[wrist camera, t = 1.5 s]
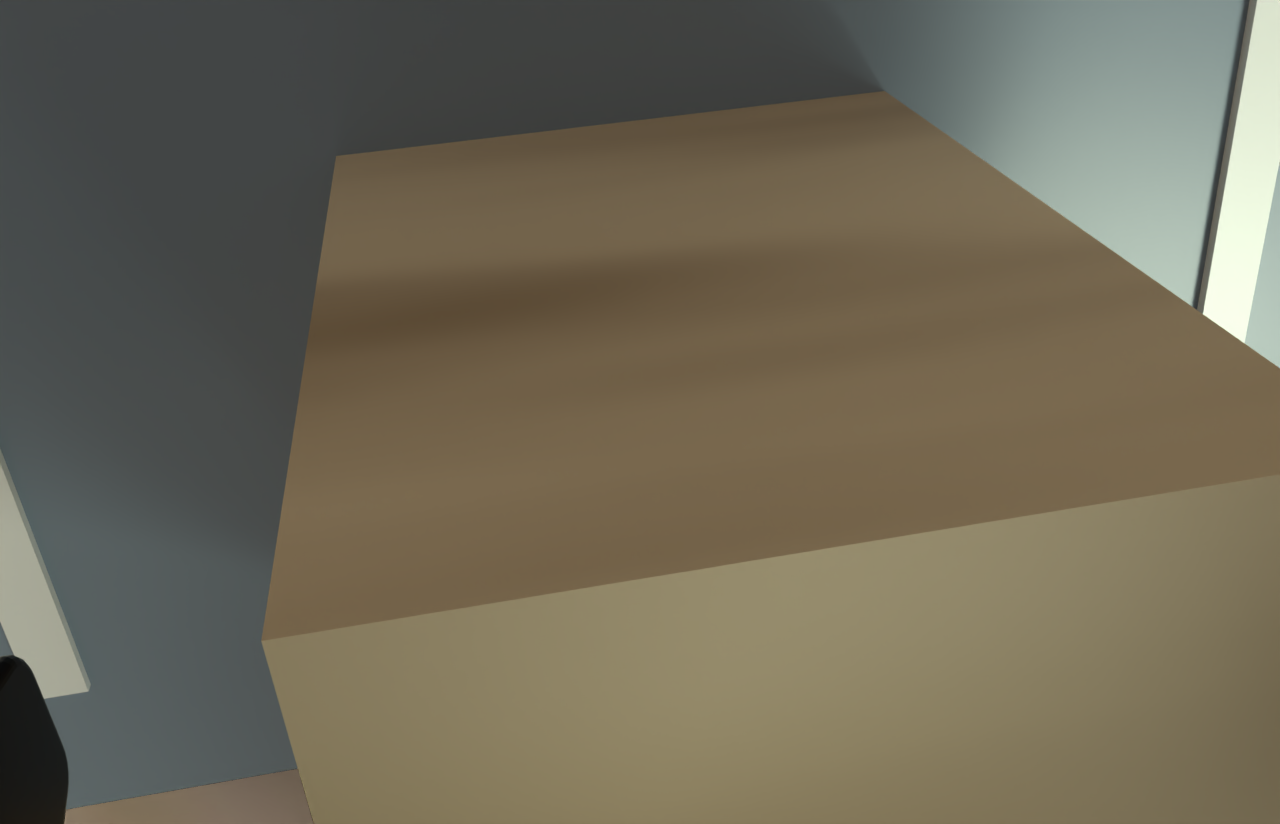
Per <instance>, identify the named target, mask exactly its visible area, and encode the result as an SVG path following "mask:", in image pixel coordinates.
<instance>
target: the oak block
mask: <svg viewBox="0 0 1280 824" xmlns="http://www.w3.org/2000/svg"><path fill="white" fill-rule="evenodd" d="M261 642H262V645H263V649H264V652H265V656H266V659H267V663H268V666H269V670H270V673H271V677H272V680H273V684H274V687H275V691H276V694H277V698H278V701H279V705H280V708H281V712H282V715H283V719H284V722H285V726H286V729H287V733H288V736H289V740H290V743H291V746H292V750H293V753H294V757H295V760H296V764H297V767H298V771H299V774H300V778H301V781H302V785H303V788H304V792H305V795H306V799H307V802H308V806H309V809H310V813H311V816H312V820H313V823H314V824H1280V368H1279V367H1277V366H1276V365H1275V364H1273V363H1272V362H1270V361H1269V360H1267V359H1266V358H1265V357H1263V356H1262V355H1260V354H1259V353H1258V352H1256V351H1255V350H1253V349H1252V348H1250V347H1249V346H1248V345H1246V344H1245V343H1243V342H1242V341H1240V340H1239V339H1238V338H1236V337H1235V336H1233V335H1232V334H1230V333H1229V332H1228V331H1226V330H1225V329H1223V328H1222V327H1220V326H1219V325H1218V324H1216V323H1215V322H1213V321H1212V320H1210V319H1209V318H1208V317H1206V316H1205V315H1203V314H1202V313H1200V312H1199V311H1198V310H1196V309H1195V308H1193V307H1192V306H1191V305H1189V304H1188V303H1186V302H1185V301H1183V300H1182V299H1181V298H1179V297H1178V296H1176V295H1175V294H1173V293H1172V292H1171V291H1169V290H1168V289H1166V288H1165V287H1163V286H1162V285H1161V284H1159V283H1158V282H1156V281H1155V280H1153V279H1152V278H1151V277H1149V276H1148V275H1146V274H1145V273H1143V272H1142V271H1141V270H1139V269H1138V268H1136V267H1135V266H1134V265H1132V264H1131V263H1129V262H1128V261H1126V260H1125V259H1124V258H1122V257H1121V256H1119V255H1118V254H1116V253H1115V252H1114V251H1112V250H1111V249H1109V248H1108V247H1106V246H1105V245H1104V244H1102V243H1101V242H1099V241H1098V240H1096V239H1095V238H1094V237H1092V236H1091V235H1089V234H1088V233H1086V232H1085V231H1084V230H1082V229H1081V228H1079V227H1078V226H1076V225H1075V224H1074V223H1072V222H1071V221H1069V220H1068V219H1067V218H1065V217H1064V216H1062V215H1061V214H1059V213H1058V212H1057V211H1055V210H1054V209H1052V208H1051V207H1049V206H1048V205H1047V204H1045V203H1044V202H1042V201H1041V200H1039V199H1038V198H1037V197H1035V196H1034V195H1032V194H1031V193H1029V192H1028V191H1027V190H1025V189H1024V188H1022V187H1021V186H1019V185H1018V184H1017V183H1015V182H1014V181H1012V180H1011V179H1010V178H1008V177H1007V176H1005V175H1004V174H1002V173H1001V172H1000V171H998V170H997V169H995V168H994V167H992V166H991V165H990V164H988V163H987V162H985V161H984V160H982V159H981V158H980V157H978V156H977V155H975V154H974V153H972V152H971V151H970V150H968V149H967V148H965V147H964V146H962V145H961V144H960V143H958V142H957V141H955V140H954V139H952V138H951V137H950V136H948V135H947V134H945V133H944V132H943V131H941V130H940V129H938V128H937V127H935V126H934V125H933V124H931V123H930V122H928V121H927V120H925V119H924V118H923V117H921V116H920V115H918V114H917V113H915V112H914V111H913V110H911V109H910V108H908V107H907V106H905V105H904V104H903V103H901V102H900V101H898V100H897V99H895V98H894V97H893V96H891V95H890V94H888V93H887V92H885V91H881V92H872V93H864V94H855V95H847V96H838V97H830V98H822V99H813V100H805V101H796V102H788V103H779V104H771V105H763V106H754V107H746V108H737V109H729V110H720V111H712V112H704V113H695V114H687V115H678V116H670V117H661V118H653V119H644V120H636V121H628V122H619V123H611V124H602V125H594V126H585V127H577V128H569V129H560V130H552V131H543V132H535V133H526V134H518V135H510V136H501V137H493V138H484V139H476V140H467V141H459V142H451V143H442V144H434V145H425V146H417V147H408V148H400V149H392V150H383V151H375V152H366V153H358V154H349V155H341V156H336V160H335V166H334V173H333V179H332V186H331V192H330V199H329V205H328V212H327V218H326V224H325V231H324V237H323V244H322V250H321V257H320V263H319V270H318V276H317V283H316V289H315V296H314V302H313V309H312V315H311V322H310V328H309V335H308V341H307V348H306V354H305V361H304V367H303V374H302V380H301V387H300V393H299V400H298V406H297V413H296V419H295V426H294V432H293V438H292V445H291V451H290V458H289V464H288V471H287V477H286V484H285V490H284V497H283V503H282V510H281V516H280V523H279V529H278V536H277V542H276V549H275V555H274V562H273V568H272V575H271V581H270V588H269V594H268V601H267V607H266V614H265V620H264V627H263V633H262V640H261Z"/></svg>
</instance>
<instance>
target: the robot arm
mask: <svg viewBox="0 0 1280 824" xmlns="http://www.w3.org/2000/svg"><path fill="white" fill-rule="evenodd" d="M68 788H69V770H68V762H67V757H66V752H65V750H64V747H63V744H62V742H61V739H60V737H59V734H58V732H57V729H56V727H55V725H54V722H53V720H52V717H51V715H50V712H49V710H48V707H47V705H46V703H45V700H44V698H43V695H42V693H41V690H40V688H39V686H38V683H37V681H36V678H35V676H34V674H33V672H32V670H31V668H30V667H29V665H28V664H27V663H26V662H25V661H24V660H23V659H21V658H19V657H16V656H14V655H5V656H0V824H64V820H65V812H66V805H67V797H68Z"/></svg>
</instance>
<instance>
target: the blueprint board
mask: <svg viewBox="0 0 1280 824" xmlns="http://www.w3.org/2000/svg"><path fill="white" fill-rule="evenodd" d="M881 91H885V92H887V93H888V94H890V95H891V96H893V97H894V98H895V99H897V100H898V101H900V102H901V103H903V104H904V105H905V106H907V107H908V108H910V109H911V110H913V111H914V112H915V113H917V114H918V115H920V116H921V117H923V118H924V119H925V120H927V121H928V122H930V123H931V124H933V125H934V126H935V127H937V128H938V129H940V130H941V131H943V132H944V133H945V134H947V135H948V136H950V137H951V138H952V139H954V140H955V141H957V142H958V143H960V144H961V145H962V146H964V147H965V148H967V149H968V150H970V151H971V152H972V153H974V154H975V155H977V156H978V157H980V158H981V159H982V160H984V161H985V162H987V163H988V164H990V165H991V166H992V167H994V168H995V169H997V170H998V171H1000V172H1001V173H1002V174H1004V175H1005V176H1007V177H1008V178H1010V179H1011V180H1012V181H1014V182H1015V183H1017V184H1018V185H1019V186H1021V187H1022V188H1024V189H1025V190H1027V191H1028V192H1029V193H1031V194H1032V195H1034V196H1035V197H1037V198H1038V199H1039V200H1041V201H1042V202H1044V203H1045V204H1047V205H1048V206H1049V207H1051V208H1052V209H1054V210H1055V211H1057V212H1058V213H1059V214H1061V215H1062V216H1064V217H1065V218H1067V219H1068V220H1069V221H1071V222H1072V223H1074V224H1075V225H1076V226H1078V227H1079V228H1081V229H1082V230H1084V231H1085V232H1086V233H1088V234H1089V235H1091V236H1092V237H1094V238H1095V239H1096V240H1098V241H1099V242H1101V243H1102V244H1104V245H1105V246H1106V247H1108V248H1109V249H1111V250H1112V251H1114V252H1115V253H1116V254H1118V255H1119V256H1121V257H1122V258H1124V259H1125V260H1126V261H1128V262H1129V263H1131V264H1132V265H1134V266H1135V267H1136V268H1138V269H1139V270H1141V271H1142V272H1143V273H1145V274H1146V275H1148V276H1149V277H1151V278H1152V279H1153V280H1155V281H1156V282H1158V283H1159V284H1161V285H1162V286H1163V287H1165V288H1166V289H1168V290H1169V291H1171V292H1172V293H1173V294H1175V295H1176V296H1178V297H1179V298H1181V299H1182V300H1183V301H1185V302H1186V303H1188V304H1189V305H1191V306H1192V307H1193V308H1195V309H1196V310H1198V311H1199V312H1200V313H1202V314H1203V315H1205V316H1206V317H1208V318H1209V319H1210V320H1212V321H1213V322H1215V323H1216V324H1218V325H1219V326H1220V327H1222V328H1223V329H1225V330H1226V331H1228V332H1229V333H1230V334H1232V335H1233V336H1235V337H1236V338H1238V339H1239V340H1240V341H1242V342H1243V343H1245V344H1246V345H1248V346H1249V347H1250V348H1252V349H1253V350H1255V351H1256V352H1258V353H1259V354H1260V355H1262V356H1263V357H1265V358H1266V359H1267V360H1269V361H1270V362H1272V363H1273V364H1275V365H1276V366H1277V367H1279V368H1280V0H0V656H5V655H14V656H16V657H19V658H21V659H23V660H24V661H25V662H26V663H27V664H28V665H29V667H30V668H31V670H32V672H33V674H34V676H35V678H36V681H37V683H38V686H39V688H40V690H41V693H42V695H43V698H44V700H45V703H46V705H47V707H48V710H49V712H50V715H51V717H52V720H53V722H54V725H55V727H56V729H57V732H58V734H59V737H60V739H61V742H62V744H63V747H64V750H65V752H66V757H67V762H68V770H69V788H68V797H67V805H66V809H71V808H77V807H83V806H88V805H94V804H100V803H105V802H111V801H117V800H122V799H128V798H134V797H140V796H145V795H151V794H157V793H162V792H168V791H174V790H179V789H185V788H191V787H196V786H202V785H208V784H213V783H219V782H225V781H230V780H236V779H242V778H247V777H253V776H259V775H264V774H270V773H276V772H281V771H287V770H293V769H298V767H297V764H296V760H295V757H294V753H293V750H292V746H291V743H290V740H289V736H288V733H287V729H286V726H285V722H284V719H283V715H282V712H281V708H280V705H279V701H278V698H277V694H276V691H275V687H274V684H273V680H272V677H271V673H270V670H269V666H268V663H267V659H266V656H265V652H264V649H263V645H262V642H261V640H262V633H263V627H264V620H265V614H266V607H267V601H268V594H269V588H270V581H271V575H272V568H273V562H274V555H275V549H276V542H277V536H278V529H279V523H280V516H281V510H282V503H283V497H284V490H285V484H286V477H287V471H288V464H289V458H290V451H291V445H292V438H293V432H294V426H295V419H296V413H297V406H298V400H299V393H300V387H301V380H302V374H303V367H304V361H305V354H306V348H307V341H308V335H309V328H310V322H311V315H312V309H313V302H314V296H315V289H316V283H317V276H318V270H319V263H320V257H321V250H322V244H323V237H324V231H325V224H326V218H327V212H328V205H329V199H330V192H331V186H332V179H333V173H334V166H335V160H336V156H341V155H349V154H358V153H366V152H375V151H383V150H392V149H400V148H408V147H417V146H425V145H434V144H442V143H451V142H459V141H467V140H476V139H484V138H493V137H501V136H510V135H518V134H526V133H535V132H543V131H552V130H560V129H569V128H577V127H585V126H594V125H602V124H611V123H619V122H628V121H636V120H644V119H653V118H661V117H670V116H678V115H687V114H695V113H704V112H712V111H720V110H729V109H737V108H746V107H754V106H763V105H771V104H779V103H788V102H796V101H805V100H813V99H822V98H830V97H838V96H847V95H855V94H864V93H872V92H881Z"/></svg>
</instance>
